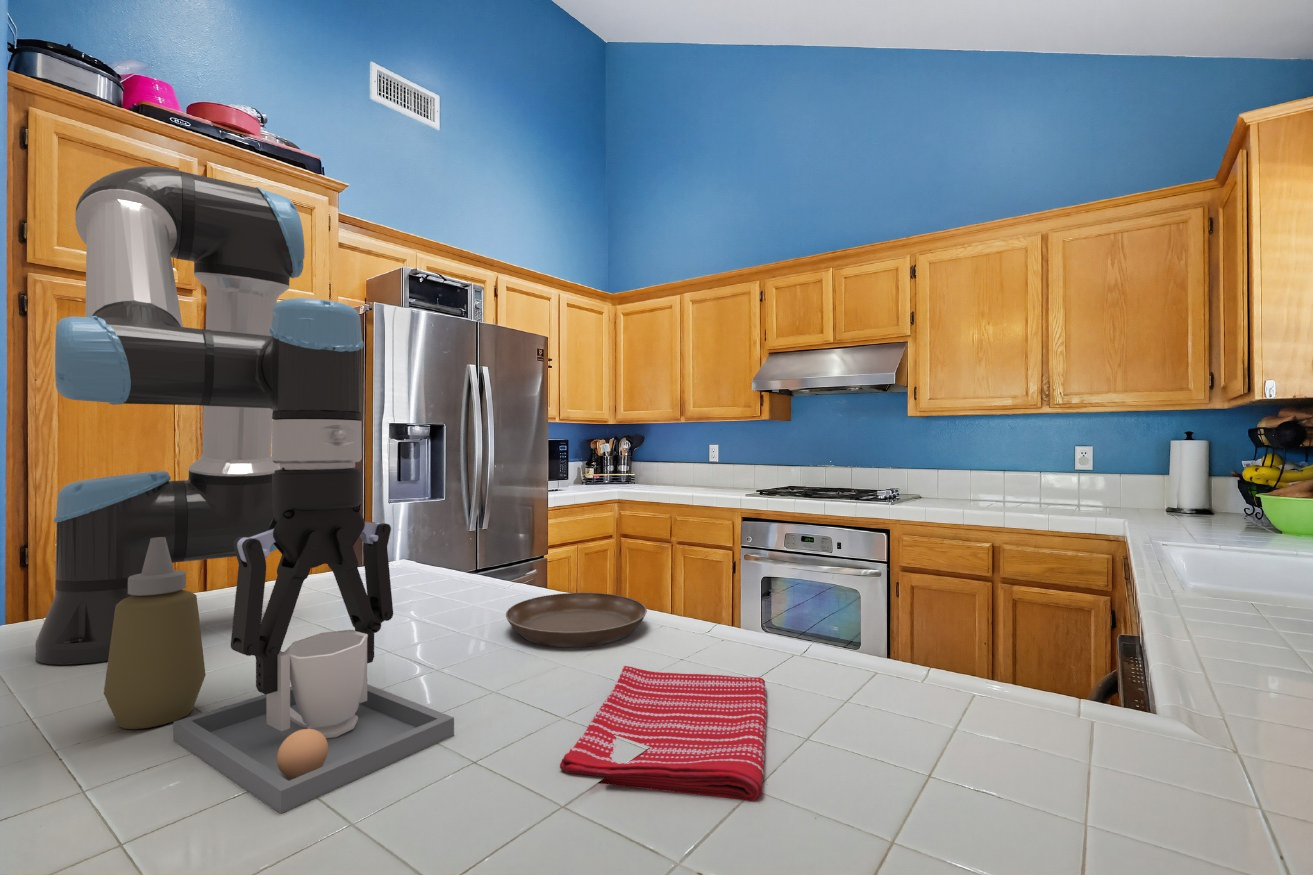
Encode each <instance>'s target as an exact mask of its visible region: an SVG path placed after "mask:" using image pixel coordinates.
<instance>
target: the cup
mask: <svg viewBox="0 0 1313 875" xmlns="http://www.w3.org/2000/svg"><path fill="white" fill-rule="evenodd" d="M353 630H354V629H345V630H336V631H335V630H334V631H327V632H320V633H317V634H313V635H311V636H308V637H304V638H302V639H299V640H295V641H293V642H292V643H291V644H290V645H289V646H288V647H287V649H286V650H284V651H283V652H285V653H287V654H290V687H291V686H292V690H293V694H294V698H295V702H296V705H297V707H298V710H299V712H300V715H299V714H298V713H297V712H296V711H294V710H293V709H292V708H291V707H290V720H292V721H293V722H295V723H297V724H298V725H300V726H302V727H305V728H307V729H314V730H317V731H319V732H320V733H322V734H323V735H324V737H325V738H332V737H337V736H339V735H341V734H343V733H346V732H348V731H350V730H352V729H354V727H355V725H356V723H357V721H358V716H356V715H355V713H356V711H357V709H358V707H359V702H360V697H361V692H362V687H363V679H364V668H365V657H366V648H367V637H368V634H364V633H361V632H357V631H353Z"/></svg>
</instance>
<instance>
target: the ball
mask: <svg viewBox="0 0 1313 875" xmlns="http://www.w3.org/2000/svg"><path fill="white" fill-rule="evenodd" d="M327 754H328V743H327V740H326V738H325V737H324V735H323V734H322V733H320V732H319V731H317V730H314V729H302V730H299V731H296V732H294V733H292V734H291V735H290V736H288V737H287V738H286V739H285V740H284V741H283V743H282V744H281V746H280V748H279V750H278V754H277V764H278V768H279V770H280V771H281V772H282V773H283V774H284V775H285V776H287V777H289V778H293V779H294V778H297V777H299V776H302V775H304V774H306V773H309V772H311V771H314V770H316V769H318V768H320V767H321V766H322V765H323V763H324V762H325V760H326V757H327Z"/></svg>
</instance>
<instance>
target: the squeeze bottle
mask: <svg viewBox="0 0 1313 875" xmlns="http://www.w3.org/2000/svg"><path fill="white" fill-rule="evenodd" d="M186 588H187V572H186V571H185V570H181V569H180V570H178V569H177V570H176V569H174V566H173V563H172V561H171V557H170V554H169V550H168V546H167V542H166V538H165V537H157V538H151V540H150V543H149V547H148V551H147V554H146V558H145V562H144V565H143V569H142V573H141V574H136V575H133V576H130V577H129V578H128V594H130V595H132V596H130V597H127V598H125V599H123V600H121V601H120V602H119V603H118V604H116V607H115V613H114V621H113V628H112V635H111V643H110V650H109V658H108V660H107V665H106V671H105V680H104V688H103V696H104V697H105V700H106V703H107V704H108V707H109V708H110V710H111V714H112V715H113V717H114V719H115V721H116V724H117V726H118V727H120V728H122V729H126V730H127V729H128V730H137V729H138V730H139V729H149V728H153V727H158V726H163V725H167V724H169V723H172V722H173V723H174V721H178V720H181V719H183V718H185V717H187V716H188V715H189V714H190V713H191V712H192V711H193V710H194V707H195V704H196V701H197V699H198V696H199V693H200V691H201V688H202V685H203V683H204V681H205V677H206V667H205V666H206V665H205V657H204V650H203V649H204V648H203V641H202V640H203V638H202V630H201V622H200V613H199V605H198V598H197V597H198V595H197V594H195V593H194V592H192V591H189V590H185V589H186Z"/></svg>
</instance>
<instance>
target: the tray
mask: <svg viewBox="0 0 1313 875" xmlns="http://www.w3.org/2000/svg"><path fill="white" fill-rule="evenodd" d="M290 707H291V708H292V709H293V710H294V711H296V712H297V713H298V714H299V715H300V712H299V710H298V707H297V705H296V702H295V698H294V694H293V690H292V686H291V685H290ZM355 715H356V716H358V721H357V723H356V725H355V727H354V729H352V730H350V731H348V732H346V733H343V734H341V735H339V736H337V737H332V738H326V740H327V743H328V754H327V757H326V760H325V762H324V763H323V765H322V766H321V767H320V768H318V769H316V770H314V771H311V772H309V773H306V774H304V775H302V776H299V777H297V778H294V779H293V778H289V777H287V776H285V775H284V774H283V773H282V772H281V771H280V770H279V768H278V764H277V754H278V750H279V748H280V746H281V744H282V743H283V741H284V740H285V739H286V738H287V737H288V736H290V735H291V734H292V733H294V732H296V731H299V730H302V729H307V728H305V727H302V726H300V725H298V724H297V723H295V722H293V721H292V720H290V728H289V729H286V730H284V731H279V730H277V729H275V728H274V727H272V726H270V725H268V724H267V695H266V694H261V695H258V696H255V697H252V698H251V697H250V698H248V699H245V700H241V701H237V702H235V703H231V704H228V705H225V706H222V707H219V708H215V709H212V710H209V711H204V712H202V713H199V714H195V715H191V716H188V717H186V718H185V717H183V718H180V719H178V720H176V721H173V723H172V724H173V726H172V729H173V738H172V739H173V741H174V742H175V743H176V744H178V745H179V746H181V747H182V748H184V749H185V750H187V751H188V752H190V753H191V754H193V755H194V756H196V757H197V758H198V759H200V760H202V761H203V762H204V763H206V764H207V765H208V766H210V767H212V768H213V769H214V770H216V771H218V772H219V773H220V774H222V775H223V776H225V777H226V778H227V779H229V780H230V781H232V782H233V783H235V784H236V785H238V786H239V787H240V788H242V789H244V790H246V791H247V792H248V793H249V794H251V795H252V796H253V797H255V798H256V799H258V800H260V801H261V802H262V803H264V804H265V805H266V806H268V807H269V808H271V809H272V810H274V811H276V812H277V813H278V814H280V815H283V814H284V813H287V812H289V811H292V810H294V809H295V808H298V807H300V806H301V805H304V804H306V803H308V802H311V801H313V800H315V799H317V798H319V797H322V796H324V795H326V794H328V793H331V792H333V791H335V790H337V789H339V788H342V787H344V786H346V785H348V784H351V783H353V782H355V781H357V780H359V779H362V778H363V777H366V776H368V775H371V774H373V773H375V772H377V771H379V770H381V769H382V770H383V769H384V768H386V767H388V766H390V765H392V764H395V763H397V762H400V761H402V760H404V759H406V758H408V757H410V756H412V755H415V754H417V753H420V752H421V751H423V750H426V749H428V748H429V747H433V746H434V745H437V744H439V743H442V742H443V741H446V740H448V739H450V738H452V737H454V736H455V717H454V716H451V715H448V714H446V713H444V712H441V711H438V710H437V709H436V710H435V709H434V708H430V707H427V706H425V705H422V704H419V703H418V702H415V701H412V700H410V699H407V698H404V697H402V696H399V695H398V694H394V693H391V692H389V691H387V690H384V689H381V688H379V687H376V686H373V685H370V684H368V683H367V701H365V702H362V703H359V707H358V709H357V711H356V713H355Z"/></svg>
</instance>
